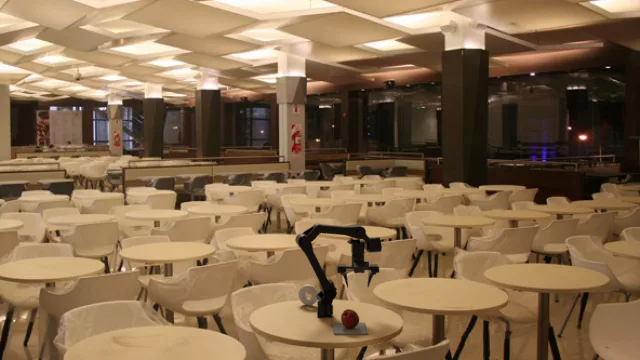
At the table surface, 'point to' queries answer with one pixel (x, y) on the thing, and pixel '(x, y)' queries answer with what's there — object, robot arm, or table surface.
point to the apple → (349, 318)
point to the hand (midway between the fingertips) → (357, 287)
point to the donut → (304, 299)
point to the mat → (342, 330)
